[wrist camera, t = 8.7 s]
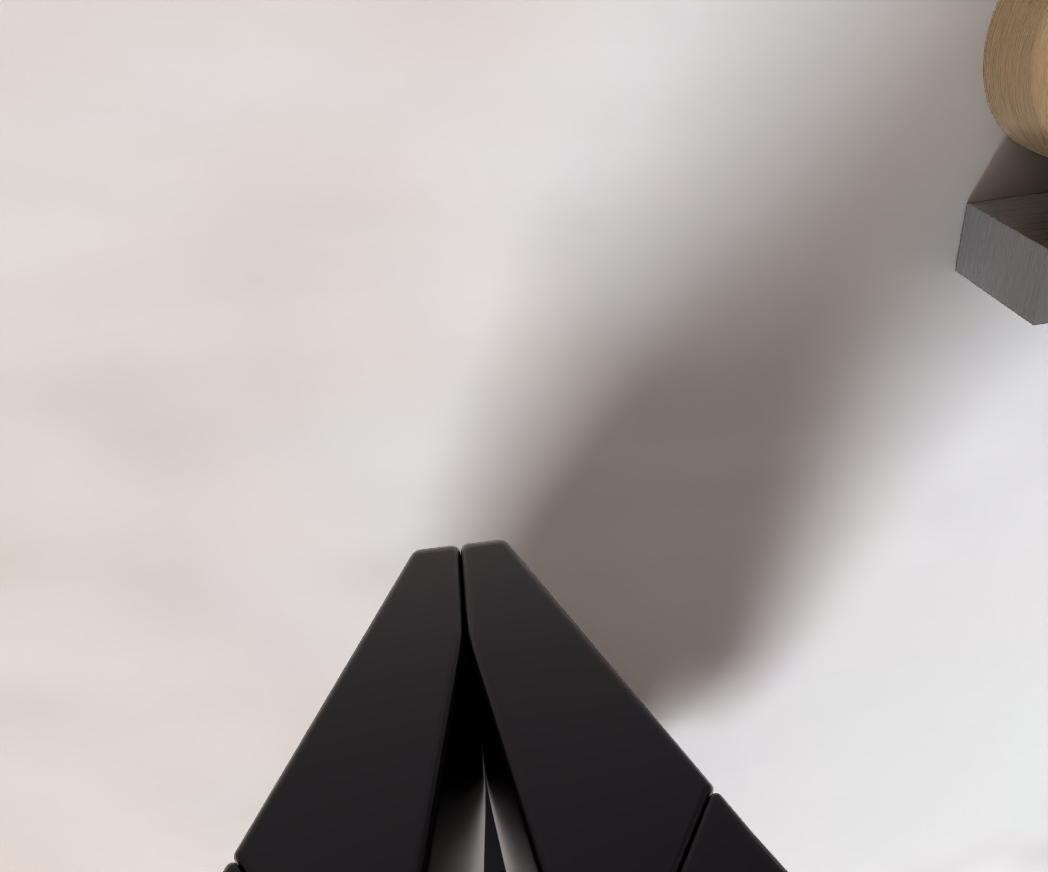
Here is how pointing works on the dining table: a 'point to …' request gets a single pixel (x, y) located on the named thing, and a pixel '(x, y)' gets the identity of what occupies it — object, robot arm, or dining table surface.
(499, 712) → the robot arm
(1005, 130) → the cylinder
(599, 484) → the dining table surface
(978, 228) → the valve body
